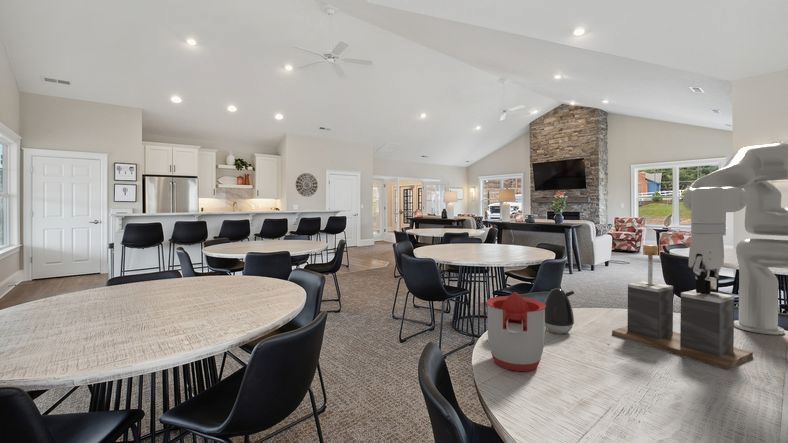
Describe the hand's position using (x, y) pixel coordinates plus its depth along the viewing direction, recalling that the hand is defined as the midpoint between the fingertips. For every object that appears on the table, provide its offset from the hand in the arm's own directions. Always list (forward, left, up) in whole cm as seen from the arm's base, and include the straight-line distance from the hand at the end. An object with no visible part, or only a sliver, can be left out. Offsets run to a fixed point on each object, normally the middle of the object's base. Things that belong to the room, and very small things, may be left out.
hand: (707, 292), depth 102 cm
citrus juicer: (+54, -22, -18) cm, 61 cm away
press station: (0, -8, -18) cm, 20 cm away
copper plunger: (0, -15, -8) cm, 17 cm away
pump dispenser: (+21, -34, -18) cm, 44 cm away
